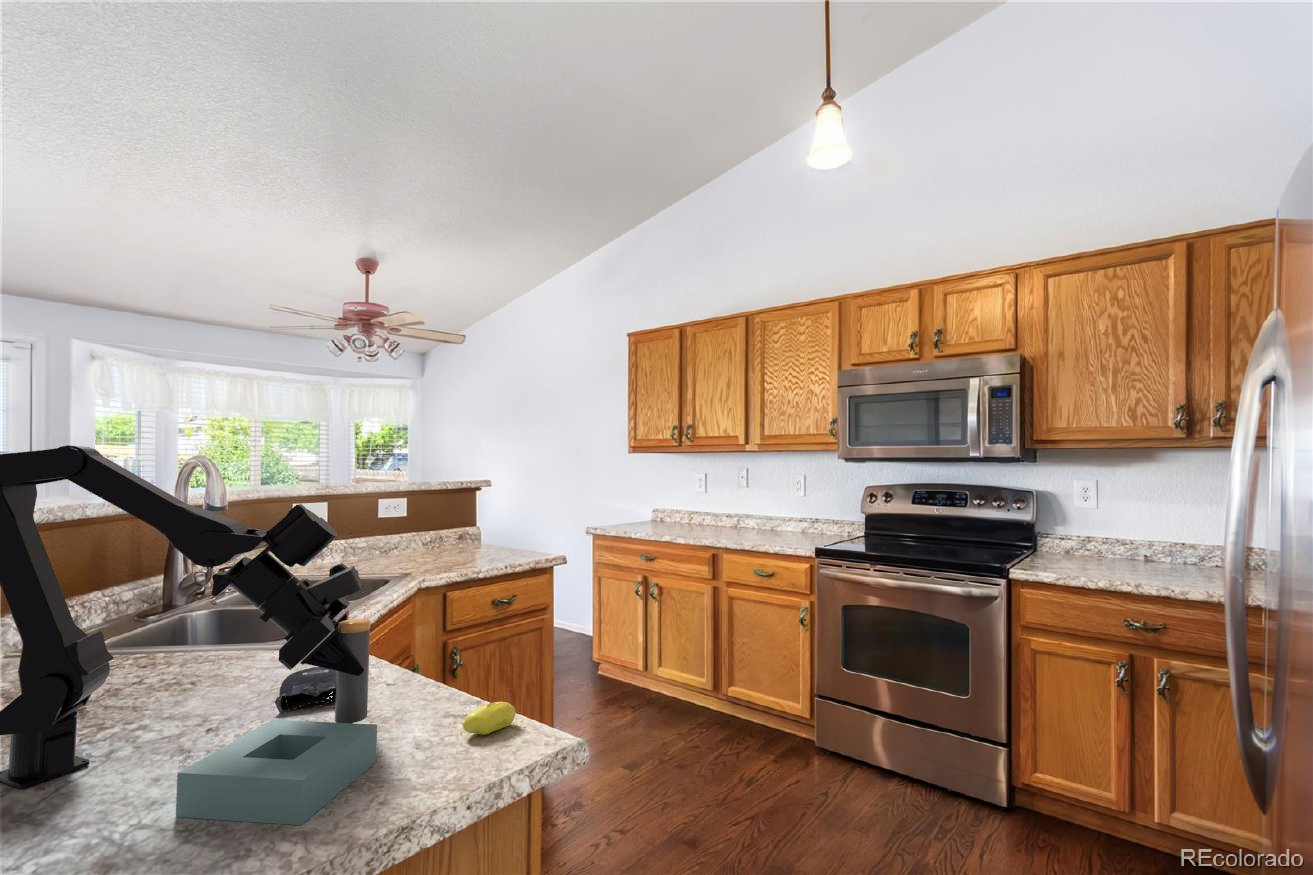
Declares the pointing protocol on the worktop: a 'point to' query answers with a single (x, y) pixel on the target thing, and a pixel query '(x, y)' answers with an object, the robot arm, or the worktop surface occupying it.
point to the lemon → (489, 718)
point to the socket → (277, 772)
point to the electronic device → (307, 687)
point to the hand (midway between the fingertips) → (363, 668)
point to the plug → (350, 686)
